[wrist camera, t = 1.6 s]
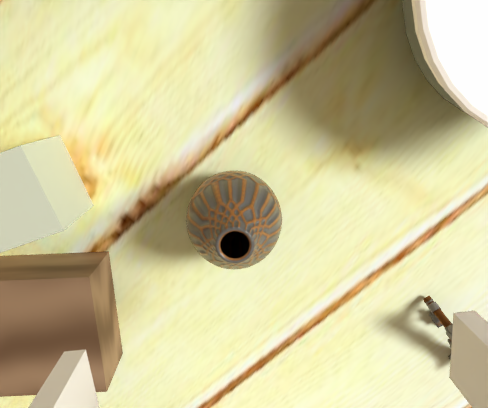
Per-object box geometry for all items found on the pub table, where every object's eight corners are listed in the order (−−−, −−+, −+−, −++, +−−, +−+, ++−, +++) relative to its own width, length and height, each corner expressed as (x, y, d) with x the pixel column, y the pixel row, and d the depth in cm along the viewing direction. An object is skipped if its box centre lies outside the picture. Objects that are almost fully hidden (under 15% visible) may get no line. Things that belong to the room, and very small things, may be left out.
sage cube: (-10, 160, 31) (-66, 176, 25) (60, 135, 30) (20, 145, 25) (27, 228, 32) (-18, 258, 27) (94, 205, 32) (63, 230, 26)
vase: (215, 257, 34) (210, 313, 25) (176, 186, 32) (156, 222, 23) (289, 222, 33) (309, 268, 24) (253, 148, 31) (261, 170, 23)
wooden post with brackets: (433, 287, 34) (470, 330, 31) (448, 326, 39) (480, 367, 36) (415, 297, 34) (448, 341, 31) (431, 335, 39) (462, 377, 36)
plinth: (-10, 255, 33) (-51, 283, 28) (109, 250, 33) (89, 277, 29) (13, 356, 36) (-21, 397, 31) (123, 351, 36) (106, 391, 31)
